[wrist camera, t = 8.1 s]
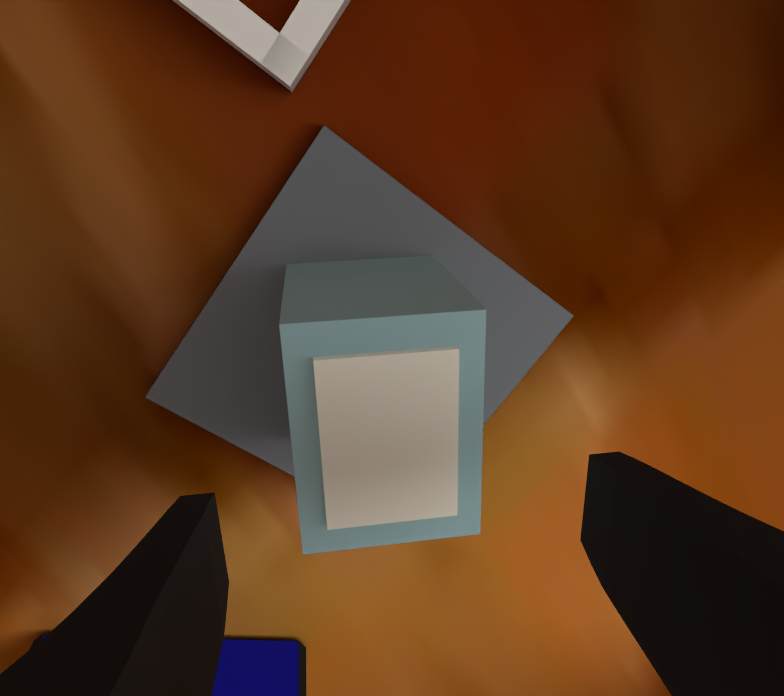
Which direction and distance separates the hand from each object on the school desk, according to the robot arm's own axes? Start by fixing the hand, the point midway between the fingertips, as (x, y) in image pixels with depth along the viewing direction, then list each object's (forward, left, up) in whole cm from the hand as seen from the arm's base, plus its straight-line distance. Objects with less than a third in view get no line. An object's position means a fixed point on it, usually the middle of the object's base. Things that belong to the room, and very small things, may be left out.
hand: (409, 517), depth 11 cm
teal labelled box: (0, 0, -9) cm, 9 cm away
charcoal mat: (0, 0, -9) cm, 9 cm away
